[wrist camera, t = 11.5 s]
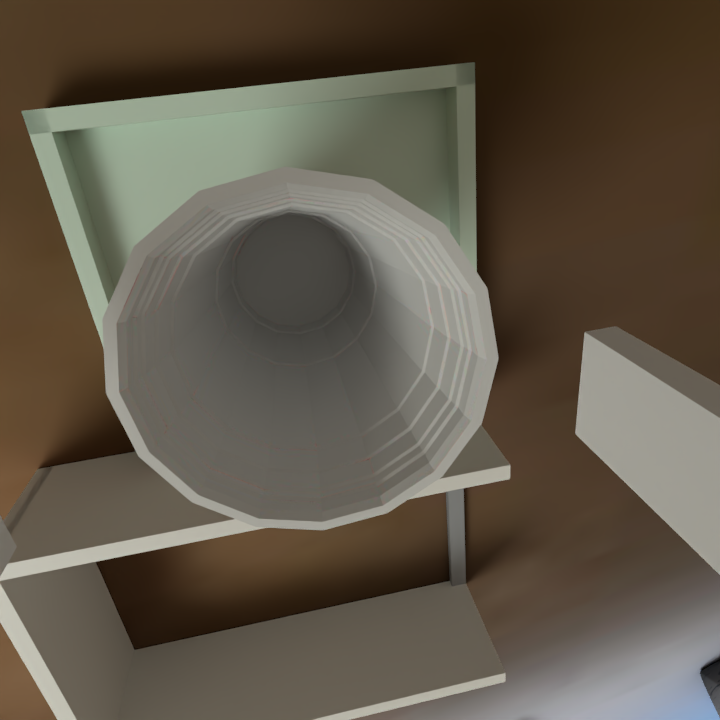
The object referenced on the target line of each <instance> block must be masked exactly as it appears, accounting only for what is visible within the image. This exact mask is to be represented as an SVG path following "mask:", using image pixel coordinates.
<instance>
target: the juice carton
mask: <svg viewBox="0 0 720 720" xmlns="http://www.w3.org/2000/svg"><path fill="white" fill-rule="evenodd" d="M700 674H701V677H702V680H703V683H704V685H705V687H706V689H707V691H708V694H709V696H710V698H711V700H712V702H713V704H714V706H715V708H716V711H717V713H718V715H719V717H720V661H718V662H716V663H714V664H712V665H710V666H709V667H707V668H705V669H704V670H702V671H701V672H700Z"/></svg>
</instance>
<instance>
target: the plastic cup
mask: <svg viewBox="0 0 720 720" xmlns="http://www.w3.org/2000/svg"><path fill="white" fill-rule="evenodd" d="M102 322H103V343H104V363H105V384H106V394H107V396H108V398H109V400H110V402H111V404H112V406H113V408H114V410H115V412H116V414H117V416H118V418H119V420H120V421H121V423H122V425H123V427H124V429H125V431H126V433H127V435H128V437H129V439H130V441H131V443H132V445H133V447H134V449H135V451H136V452H137V454H138V456H139V457H140V458H141V459H142V460H143V461H144V462H145V463H147V464H148V465H149V466H150V467H151V468H152V469H154V470H155V471H156V472H157V473H158V474H159V475H160V476H162V477H163V478H164V479H165V480H166V481H167V482H169V483H170V484H171V485H172V486H173V487H174V488H176V489H177V490H178V491H179V492H180V493H181V494H183V495H184V496H185V497H186V498H187V499H188V500H190V501H191V502H192V503H195V504H197V505H200V506H203V507H205V508H208V509H210V510H213V511H216V512H218V513H221V514H223V515H226V516H229V517H231V518H234V519H236V520H239V521H242V522H244V523H247V524H249V525H252V526H255V527H266V528H287V529H308V530H326V529H330V528H334V527H337V526H341V525H345V524H348V523H352V522H356V521H360V520H363V519H367V518H371V517H374V516H378V515H382V514H385V513H388V512H390V511H391V510H393V509H394V508H396V507H397V506H399V505H400V504H402V503H403V502H405V501H406V500H408V499H409V498H411V497H412V496H414V495H415V494H417V493H418V492H420V491H421V490H423V489H424V488H426V487H427V486H429V485H430V484H432V483H433V482H435V481H436V480H438V479H440V478H441V477H443V475H444V474H445V472H446V471H447V470H448V468H449V467H450V466H451V464H452V463H453V462H454V460H455V459H456V458H457V456H458V455H459V454H460V452H461V451H462V450H463V448H464V447H465V445H466V444H467V443H468V441H469V440H470V439H471V437H472V436H473V435H474V433H475V432H476V431H477V429H478V428H479V427H480V425H481V424H482V420H483V417H484V413H485V409H486V405H487V401H488V397H489V394H490V390H491V386H492V382H493V378H494V374H495V371H496V367H497V363H498V359H499V357H498V351H497V345H496V339H495V333H494V326H493V320H492V314H491V308H490V301H489V295H488V289H487V287H486V285H485V284H484V282H483V281H482V279H481V278H480V276H479V275H478V273H477V272H476V270H475V269H474V267H473V266H472V264H471V263H470V261H469V260H468V258H467V257H466V255H465V254H464V252H463V251H462V249H461V248H460V246H459V245H458V243H457V242H456V240H455V239H454V237H453V236H452V234H451V233H450V231H449V230H448V228H447V227H446V225H445V224H444V223H442V222H441V221H439V220H437V219H436V218H434V217H433V216H431V215H429V214H428V213H426V212H425V211H423V210H421V209H420V208H418V207H417V206H415V205H413V204H412V203H410V202H409V201H407V200H405V199H404V198H402V197H401V196H399V195H397V194H396V193H394V192H393V191H391V190H389V189H388V188H386V187H385V186H383V185H381V184H380V183H378V182H377V181H375V180H373V179H367V178H360V177H353V176H346V175H339V174H333V173H326V172H319V171H312V170H305V169H298V168H291V167H282V168H278V169H275V170H271V171H268V172H264V173H260V174H257V175H253V176H250V177H246V178H243V179H239V180H235V181H232V182H228V183H225V184H221V185H218V186H214V187H211V188H207V189H203V190H200V191H198V192H197V193H196V194H194V195H193V196H192V197H191V198H190V199H189V200H187V201H186V202H185V203H184V204H183V205H182V206H180V207H179V208H178V209H177V210H176V211H175V212H173V213H172V214H171V215H170V216H169V217H168V218H166V219H165V220H164V221H163V222H162V223H161V224H159V225H158V226H157V227H156V228H155V229H153V230H152V231H151V232H150V233H149V234H148V235H146V236H145V237H144V238H143V239H142V240H141V241H139V242H138V243H137V244H136V245H135V246H134V247H133V249H132V252H131V254H130V256H129V259H128V261H127V263H126V266H125V268H124V270H123V273H122V275H121V277H120V279H119V282H118V284H117V286H116V289H115V291H114V293H113V296H112V298H111V300H110V303H109V305H108V307H107V310H106V312H105V314H104V316H103V319H102Z"/></svg>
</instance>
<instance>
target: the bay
mask: <svg viewBox="0 0 720 720" xmlns="http://www.w3.org/2000/svg"><path fill="white" fill-rule="evenodd" d="M507 479H510V464H509V462H508V461H507V460H506V458H505V457H504V456H503V454H502V453H501V451H500V450H499V449H498V447H497V446H496V445H495V443H494V442H493V440H492V439H491V438H490V436H489V435H488V433H487V432H486V431H485V429H484V428H483V427H482V425H480V427H479V428H478V429H477V431H476V432H475V433H474V435H473V436H472V437H471V439H470V440H469V441H468V443H467V444H466V445H465V447H464V448H463V450H462V451H461V452H460V454H459V455H458V456H457V458H456V459H455V460H454V462H453V463H452V464H451V466H450V467H449V468H448V470H447V471H446V472H445V474H444V475H443V477H441V478H440V479H438V480H436V481H435V482H433V483H432V484H430V485H429V486H427V487H426V488H424V489H423V490H421V491H420V492H418V493H417V494H415V495H414V496H412V497H411V498H409V499H412V498H417V497H422V496H427V495H432V494H437V493H442V492H446V506H447V529H448V553H449V576H450V581H447V582H442V583H438V584H433V585H429V586H424V587H419V588H415V589H410V590H406V591H401V592H397V593H392V594H387V595H383V596H378V597H374V598H369V599H365V600H360V601H356V602H351V603H346V604H342V605H337V606H333V607H328V608H324V609H319V610H315V611H310V612H305V613H301V614H296V615H292V616H287V617H283V618H278V619H273V620H269V621H264V622H260V623H255V624H251V625H246V626H242V627H237V628H232V629H228V630H223V631H219V632H214V633H210V634H205V635H200V636H196V637H191V638H187V639H182V640H178V641H173V642H169V643H164V644H159V645H155V646H150V647H146V648H141V649H137V650H134V648H133V645H132V643H131V641H130V639H129V636H128V634H127V632H126V629H125V627H124V625H123V623H122V620H121V618H120V616H119V614H118V611H117V609H116V607H115V604H114V602H113V600H112V598H111V595H110V593H109V591H108V589H107V586H106V584H105V582H104V580H103V577H102V575H101V573H100V570H99V568H98V566H97V564H96V562H97V561H102V560H107V559H112V558H117V557H122V556H127V555H132V554H137V553H142V552H147V551H152V550H157V549H162V548H167V547H172V546H177V545H182V544H187V543H192V542H197V541H202V540H207V539H212V538H217V537H222V536H227V535H232V534H237V533H242V532H247V531H252V530H257V529H262V528H266V527H255V526H252V525H249V524H247V523H244V522H242V521H239V520H236V519H234V518H231V517H229V516H226V515H223V514H221V513H218V512H216V511H213V510H210V509H208V508H205V507H203V506H200V505H197V504H195V503H192V502H191V501H190V500H188V499H187V498H186V497H185V496H184V495H183V494H181V493H180V492H179V491H178V490H177V489H176V488H174V487H173V486H172V485H171V484H170V483H169V482H167V481H166V480H165V479H164V478H163V477H162V476H160V475H159V474H158V473H157V472H156V471H155V470H154V469H152V468H151V467H150V466H149V465H148V464H147V463H145V462H144V461H143V460H142V459H141V458H140V457H139V456H138V454H137V452H136V451H135V452H129V453H124V454H118V455H113V456H107V457H102V458H96V459H90V460H85V461H79V462H74V463H68V464H63V465H57V466H51V467H46V468H40V469H37V471H36V472H35V474H34V475H33V477H32V478H31V480H30V481H29V483H28V485H27V486H26V488H25V489H24V491H23V492H22V494H21V495H20V497H19V498H18V500H17V501H16V503H15V504H14V506H13V507H12V509H11V510H10V512H9V513H8V515H7V516H6V518H5V519H4V521H3V522H4V524H5V526H6V527H7V529H8V531H9V533H10V535H11V537H12V539H13V541H14V543H15V544H16V546H17V548H16V549H15V551H14V553H13V555H12V557H11V558H10V560H9V562H8V564H7V565H6V567H5V569H4V571H3V573H2V574H1V576H0V623H1V624H2V626H3V628H4V629H5V631H6V633H7V635H8V636H9V638H10V640H11V641H12V643H13V645H14V646H15V648H16V650H17V652H18V653H19V655H20V657H21V658H22V660H23V662H24V663H25V665H26V667H27V669H28V670H29V672H30V674H31V675H32V677H33V679H34V680H35V682H36V684H37V686H38V687H39V689H40V691H41V692H42V694H43V696H44V697H45V699H46V701H47V703H48V704H49V706H50V708H51V709H52V711H53V713H54V714H55V716H56V718H57V720H350V719H354V718H358V717H363V716H367V715H371V714H375V713H379V712H383V711H387V710H391V709H395V708H399V707H404V706H408V705H412V704H416V703H420V702H424V701H428V700H432V699H436V698H440V697H445V696H449V695H453V694H457V693H461V692H465V691H469V690H473V689H477V688H481V687H486V686H490V685H494V684H498V683H502V682H505V671H504V669H503V666H502V664H501V662H500V659H499V657H498V655H497V653H496V650H495V648H494V646H493V644H492V641H491V639H490V637H489V635H488V632H487V630H486V628H485V625H484V623H483V621H482V619H481V616H480V614H479V612H478V610H477V607H476V605H475V603H474V601H473V598H472V596H471V594H470V592H469V589H468V587H467V585H466V564H465V523H464V488H467V487H472V486H477V485H482V484H487V483H492V482H497V481H502V480H507Z"/></svg>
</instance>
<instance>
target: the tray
mask: <svg viewBox="0 0 720 720" xmlns="http://www.w3.org/2000/svg"><path fill="white" fill-rule="evenodd" d="M21 112H22V115H23V118H24V120H25V123H26V126H27V129H28V132H29V135H30V138H31V141H32V143H33V146H34V149H35V152H36V155H37V158H38V161H39V164H40V166H41V169H42V172H43V175H44V178H45V181H46V184H47V187H48V189H49V192H50V195H51V198H52V201H53V204H54V207H55V210H56V212H57V215H58V218H59V221H60V224H61V227H62V230H63V233H64V235H65V238H66V241H67V244H68V247H69V250H70V253H71V256H72V258H73V261H74V264H75V267H76V270H77V273H78V276H79V279H80V281H81V284H82V287H83V290H84V293H85V296H86V299H87V302H88V304H89V307H90V310H91V313H92V316H93V319H94V322H95V325H96V327H97V330H98V333H99V336H100V339H101V342H102V345H103V348H104V343H103V322H102V319H103V316H104V314H105V312H106V310H107V307H108V305H109V303H110V300H111V298H112V296H113V293H114V291H115V289H116V286H117V284H118V282H119V279H120V277H121V275H122V273H123V270H124V268H125V266H126V263H127V261H128V259H129V256H130V254H131V252H132V249H133V247H134V246H135V245H136V244H137V243H138V242H139V241H141V240H142V239H143V238H144V237H145V236H146V235H148V234H149V233H150V232H151V231H152V230H153V229H155V228H156V227H157V226H158V225H159V224H161V223H162V222H163V221H164V220H165V219H166V218H168V217H169V216H170V215H171V214H172V213H173V212H175V211H176V210H177V209H178V208H179V207H180V206H182V205H183V204H184V203H185V202H186V201H187V200H189V199H190V198H191V197H192V196H193V195H194V194H196V193H197V192H198V191H200V190H203V189H207V188H211V187H214V186H218V185H221V184H225V183H228V182H232V181H235V180H239V179H243V178H246V177H250V176H253V175H257V174H260V173H264V172H268V171H271V170H275V169H278V168H282V167H291V168H298V169H305V170H312V171H319V172H326V173H333V174H339V175H346V176H353V177H360V178H367V179H373V180H375V181H377V182H378V183H380V184H381V185H383V186H385V187H386V188H388V189H389V190H391V191H393V192H394V193H396V194H397V195H399V196H401V197H402V198H404V199H405V200H407V201H409V202H410V203H412V204H413V205H415V206H417V207H418V208H420V209H421V210H423V211H425V212H426V213H428V214H429V215H431V216H433V217H434V218H436V219H437V220H439V221H441V222H442V223H444V224H445V225H446V227H447V228H448V230H449V231H450V233H451V234H452V236H453V237H454V239H455V240H456V242H457V243H458V245H459V246H460V248H461V249H462V251H463V252H464V254H465V255H466V257H467V258H468V260H469V261H470V263H471V264H472V266H473V267H474V269H475V270H476V272H477V246H476V133H475V62H471V63H462V64H453V65H443V66H434V67H425V68H416V69H406V70H397V71H388V72H379V73H369V74H360V75H351V76H342V77H332V78H323V79H314V80H305V81H295V82H286V83H277V84H268V85H258V86H249V87H240V88H231V89H221V90H212V91H203V92H194V93H184V94H175V95H166V96H157V97H147V98H138V99H129V100H120V101H110V102H101V103H92V104H83V105H73V106H64V107H55V108H46V109H36V110H27V111H21Z"/></svg>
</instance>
